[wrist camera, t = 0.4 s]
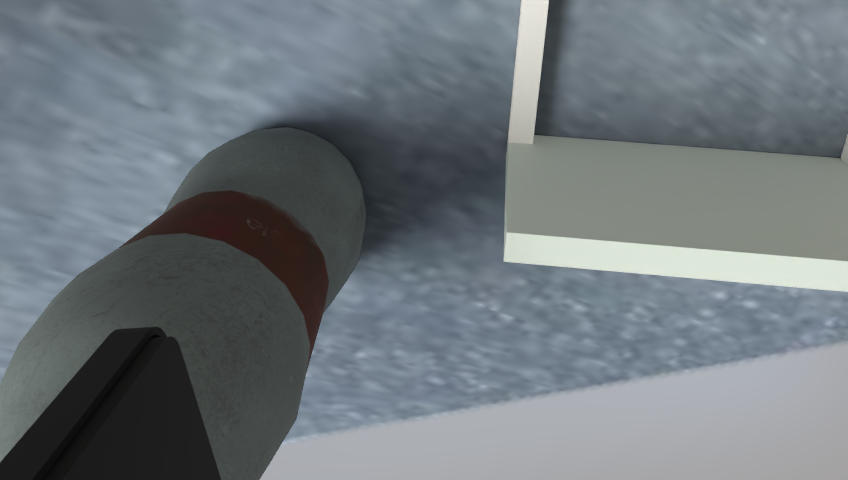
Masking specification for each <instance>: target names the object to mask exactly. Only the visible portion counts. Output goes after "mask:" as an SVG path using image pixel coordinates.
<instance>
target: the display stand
mask: <svg viewBox="0 0 848 480" xmlns="http://www.w3.org/2000/svg"><path fill="white" fill-rule="evenodd" d="M548 4H549V0H521V7H520V17H519V27H518V38H517V48H516V58H515V69H514V79H513V89H512V100H511V110H510V120H509V131H508V141H507V151H506V180H505V222H504V262H514V263H525V264H537V265H548V266H560V267H571V268H582V269H594V270H605V271H617V272H628V273H639V274H651V275H662V276H674V277H685V278H696V279H708V280H719V281H731V282H742V283H753V284H765V285H776V286H788V287H799V288H810V289H822V290H833V291H845V292H848V134H847V138H846V141H845V145H844V148H843V151H842V155H841V158H832V157H819V156H806V155H793V154H779V153H766V152H753V151H740V150H727V149H713V148H700V147H687V146H674V145H661V144H648V143H634V142H621V141H608V140H595V139H582V138H568V137H555V136H542V135H534V130H535V121H536V112H537V103H538V94H539V85H540V76H541V67H542V58H543V49H544V40H545V31H546V22H547V13H548Z"/></svg>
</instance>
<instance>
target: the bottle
mask: <svg viewBox="0 0 848 480" xmlns="http://www.w3.org/2000/svg"><path fill="white" fill-rule="evenodd" d="M366 215H367V212H366V207H365V201H364V195H363V189H362V186H361V182H360V180H359V178H358V176H357V174H356V172H355V171H354V169H353V167H352V165H351V163H350V161H349V160H348V159H347V158H346V157H345V156H344V155H343V154H342V153H341V152H340V151H339V150H338V149H337V148H336V147H335V146H334V145H333V144H332V143H330V142H328V141H326V140H324V139H323V138H321V137H319V136H317V135H315V134H313V133H312V132H308V131H303V130H299V129H294V128H289V127H283V128H272V129H262V130H254V131H251V132H249V133H247V134H244V135H242V136H240V137H237V138H235V139H233V140H230V141H229V142H227V143H225V144H223V145H221V146H220V147H218V148H216V149H214V150H212V151H211V152H209V153H208V154H207V155H206V156H205V157H204V158H203V159H202V160H201V161H200V162H199V163H198V164H197V165H196V166H195V167H193V168H192V169H191V170H190V172H189V173H188V175H187V176H186V178H185V179H184V181H183V182H182V184H181V185H180V187H179V188H178V190H177V191H176V193H175V194H174V196H173V198H172V200H171V201H170V203H169V205H168V207H167V208H166V210H165V212H164V214H163V215H161V216H160V217H159V218H158V219H156V220H155V221H154V222H152V223H151V224H150V225H148V226H147V227H146V228H144V229H143V230H142V231H140V232H139V233H138V234H136V235H135V236H134V237H133V238H131V239H130V240H129V241H127V242H126V243H125V244H123V245H122V246H121V247H119V248H118V249H117V250H115V251H113V252H112V253H110V254H109V255H107V256H106V257H104V258H103V259H101V260H100V261H98V262H97V263H95V264H94V265H92V266H91V267H89V268H88V269H86V270H85V271H83V272H82V273H80V274H79V275H77V276H76V277H75V278H74V279H73V280H72V281H71V282H70V283H69V284H68V285H67V286H66V287H65V288H64V289H63V290H62V291H61V292H60V293H59V294H58V295H57V296H56V297H55V298H54V299H53V300H52V301H51V303H50V304H49V305H48V307H47V308H46V309H45V311H44V312H43V313H42V314H41V316H40V317H39V318H38V320H37V321H36V322H35V324H34V325H33V326H32V327H31V329H30V330H29V331H28V333H27V334H26V335H25V337H24V338H23V339H22V341H21V342H20V343H19V345H18V347H17V349H16V351H15V353H14V355H13V358H12V360H11V362H10V364H9V366H8V368H7V370H6V372H5V374H4V377H3V379H2V382H1V385H0V462H1V461H2V460H3V458H4V457H5V456H6V455H7V454H8V453H9V451H10V450H11V449H12V448H13V447H14V446H15V444H16V443H17V442H18V441H19V440H20V439H21V437H22V436H23V435H24V434H25V433H26V432H27V430H28V429H29V428H30V427H31V426H32V425H33V423H34V422H35V421H36V420H37V419H38V418H39V416H40V415H41V414H42V413H43V412H44V410H45V409H46V408H47V407H48V406H49V405H50V403H51V402H52V401H53V400H54V399H55V398H56V396H57V395H58V394H59V393H60V392H61V391H62V389H63V388H64V387H65V386H66V385H67V384H68V382H69V381H70V380H71V379H72V378H73V377H74V375H75V374H76V373H77V372H78V371H79V370H80V368H81V367H82V366H83V365H84V364H85V362H86V361H87V360H88V359H89V358H90V357H91V355H92V354H93V353H94V352H95V351H96V350H97V348H98V347H99V346H100V345H101V344H102V343H103V341H104V340H105V339H106V338H107V337H108V336H109V334H110V333H112V332H113V331H114V330H116V329H125V328H141V327H159V328H161V329H162V330H163V331H164V332H165V333H166V336H167V337H168V336H172V337H174V338H175V339H176V340H177V341H178V343H179V346H180V348H181V352H182V355H183V358H184V361H185V364H186V368H187V371H188V374H189V377H190V381H191V384H192V387H193V390H194V393H195V397H196V400H197V403H198V406H199V410H200V413H201V416H202V419H203V422H204V426H205V429H206V432H207V435H208V438H209V442H210V445H211V448H212V451H213V455H214V458H215V461H216V464H217V467H218V471H219V474H220V477H221V480H259V479H260V478H261V476H262V474H263V473H264V471H265V470H266V468H267V467H268V465H269V464H270V462H271V460H272V459H273V457H274V455H275V454H276V452H277V450H278V449H279V447H280V445H281V444H282V442H283V440H284V439H285V437H286V435H287V434H288V432H289V430H290V429H291V427H292V425H293V424H294V422H295V420H296V418H297V414H298V409H299V404H300V399H301V395H302V390H303V385H304V380H305V376H306V372H307V368H308V365H309V361H310V358H311V354H312V351H313V347H314V343H315V340H316V336H317V333H318V329H319V326H320V322H321V319H322V315H323V313H324V312H325V310H326V309H327V308H328V306H329V305H330V304H331V303H332V301H333V300H334V298H335V297H336V295H337V294H338V293H339V291H340V290H341V288H342V287H343V285H344V284H345V282H346V281H347V279H348V278H349V276H350V274H351V273H352V271H353V269H354V268H355V266H356V265H357V263H358V261H359V259H360V253H361V248H362V242H363V237H364V230H365V223H366Z"/></svg>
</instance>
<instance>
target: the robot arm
mask: <svg viewBox="0 0 848 480" xmlns="http://www.w3.org/2000/svg"><path fill="white" fill-rule="evenodd" d="M0 480H221V477H220V474H219V471H218V467H217V464H216V461H215V458H214V455H213V451H212V448H211V445H210V442H209V438H208V435H207V432H206V429H205V426H204V422H203V419H202V416H201V413H200V410H199V406H198V403H197V400H196V397H195V393H194V390H193V387H192V384H191V381H190V377H189V374H188V371H187V368H186V364H185V361H184V358H183V355H182V352H181V348H180V346H179V343H178V341H177V340H176V339H175V338H174V337H172V336H168V337H167V336H166V333H165V332H164V331H163V330H162V329H161V328H159V327H141V328H125V329H116V330H114V331H113V332H112V333H110V334H109V336H108V337H107V338H106V339H105V340H104V341H103V343H102V344H101V345H100V346H99V347H98V348H97V350H96V351H95V352H94V353H93V354H92V355H91V357H90V358H89V359H88V360H87V361H86V362H85V364H84V365H83V366H82V367H81V368H80V370H79V371H78V372H77V373H76V374H75V375H74V377H73V378H72V379H71V380H70V381H69V382H68V384H67V385H66V386H65V387H64V388H63V389H62V391H61V392H60V393H59V394H58V395H57V396H56V398H55V399H54V400H53V401H52V402H51V403H50V405H49V406H48V407H47V408H46V409H45V410H44V412H43V413H42V414H41V415H40V416H39V418H38V419H37V420H36V421H35V422H34V423H33V425H32V426H31V427H30V428H29V429H28V430H27V432H26V433H25V434H24V435H23V436H22V437H21V439H20V440H19V441H18V442H17V443H16V444H15V446H14V447H13V448H12V449H11V450H10V451H9V453H8V454H7V455H6V456H5V457H4V458H3V460H2V461H1V462H0Z"/></svg>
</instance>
